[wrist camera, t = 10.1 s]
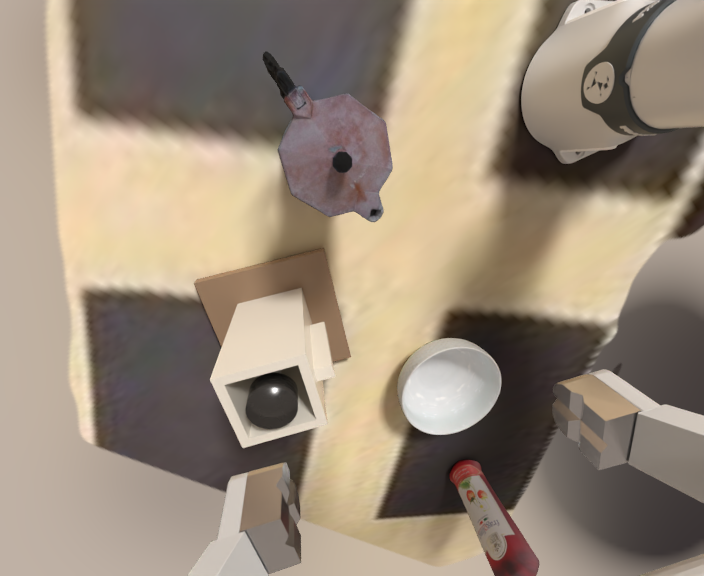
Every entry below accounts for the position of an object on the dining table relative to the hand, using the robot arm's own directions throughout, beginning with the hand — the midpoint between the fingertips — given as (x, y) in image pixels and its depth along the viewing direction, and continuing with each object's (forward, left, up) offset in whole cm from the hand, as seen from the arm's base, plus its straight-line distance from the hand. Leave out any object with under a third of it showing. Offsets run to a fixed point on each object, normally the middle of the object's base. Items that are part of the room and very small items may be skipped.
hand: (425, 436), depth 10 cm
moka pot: (-1, -8, -39) cm, 40 cm away
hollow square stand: (+10, +14, -39) cm, 43 cm away
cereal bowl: (-13, +31, -39) cm, 52 cm away
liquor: (-16, +58, -39) cm, 72 cm away
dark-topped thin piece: (+10, +14, -36) cm, 40 cm away
